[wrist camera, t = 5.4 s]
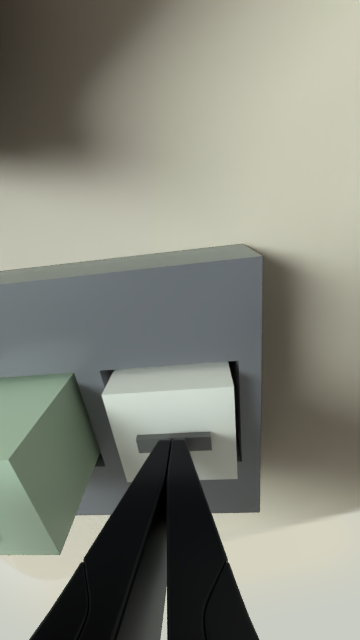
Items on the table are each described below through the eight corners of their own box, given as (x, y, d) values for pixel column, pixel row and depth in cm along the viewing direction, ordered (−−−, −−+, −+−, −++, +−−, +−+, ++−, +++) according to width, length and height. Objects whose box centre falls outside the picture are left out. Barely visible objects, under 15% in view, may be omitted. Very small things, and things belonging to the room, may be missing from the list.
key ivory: (220, 330, 11) (234, 391, 7) (224, 403, 12) (238, 484, 9) (130, 338, 11) (98, 399, 7) (145, 407, 13) (125, 487, 9)
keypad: (242, 243, 9) (262, 256, 7) (246, 451, 14) (259, 512, 11) (-151, 288, 11) (-267, 313, 8) (-38, 462, 15) (-89, 518, 12)
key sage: (77, 367, 9) (2, 467, 6) (103, 444, 11) (56, 563, 7) (-21, 374, 10) (-153, 472, 6) (17, 448, 11) (-70, 563, 7)
